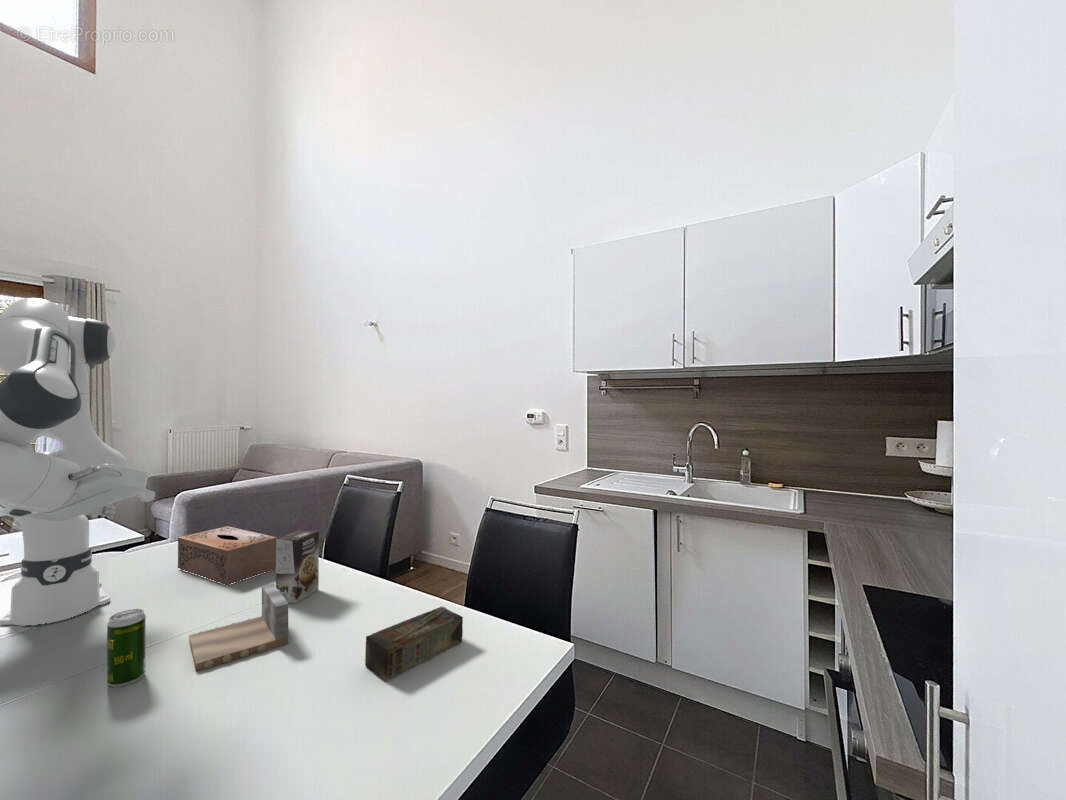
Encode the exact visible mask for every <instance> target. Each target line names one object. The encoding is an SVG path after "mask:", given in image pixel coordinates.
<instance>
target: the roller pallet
mask: <svg viewBox="0 0 1066 800" xmlns="http://www.w3.org/2000/svg"><path fill="white" fill-rule="evenodd" d="M188 640H189V641H188V642H189V648H190V652H191V656H192V660H193V661H192V662H193V665H194V670H195V672H199V671H203V670H205V669H207V670H208V669H210V668H212V667H215V666H219V665H221V664H222V665H223V664H228V663H229V662H231V661H235V659H236V660H238V658H239V659H242V658H243V659H244V657H245V658H247V657H248V655H249V656H251V655H250V654H252V655H255V654H258V653H257V652H259V653H264V652H266V651H269V650H271V649H274V648H278V647H281V645H282V646H284V645H289V603H288V602H287V601H286V600H285V598H284V597H283V596H282V594H281V593H280V592H279V590H278V589H277V588H276V584H274V583H270V584H265V585H262V586H261V616H257V617H254V618H248V619H246V620H242V621H239V622H232V623H230V624H226V625H222V626H219V627H218V626H217V627H215V628H212V629H207V630H204V631H199V632H195V633H193V634H189V635H188ZM268 649H269V650H268ZM254 653H255V654H254Z"/></svg>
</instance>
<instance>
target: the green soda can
mask: <svg viewBox="0 0 1066 800" xmlns="http://www.w3.org/2000/svg"><path fill="white" fill-rule="evenodd" d="M146 617H147V616H146V613H145V610H144V609H142V608H133V609H132V608H131V609H126V610H123V611H122V610H121V611H120V612H119V611H118V612H117V613H114V614H113V615H111V616H109V618H108V622H107V626H106V628H107V631H106V634H107V635H106V636H107V637H106V638H107V639H106V640H107V641H106V643H107V644H106V647H107V648H106V653H107V654H106V656H107V657H106V662H107V663H106V669H107V670H106V677H107V678H106V683H107V685H108V686H109V687H110V686H111V687H110V688H113V687H118V688H123V687H122V686H124V687H127V686H130V685H132V683H133V684H135V683H136V682H139V681H140V680H141V679H143V677H144V675H145V673H146V619H147V618H146ZM126 685H127V686H126Z"/></svg>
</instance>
